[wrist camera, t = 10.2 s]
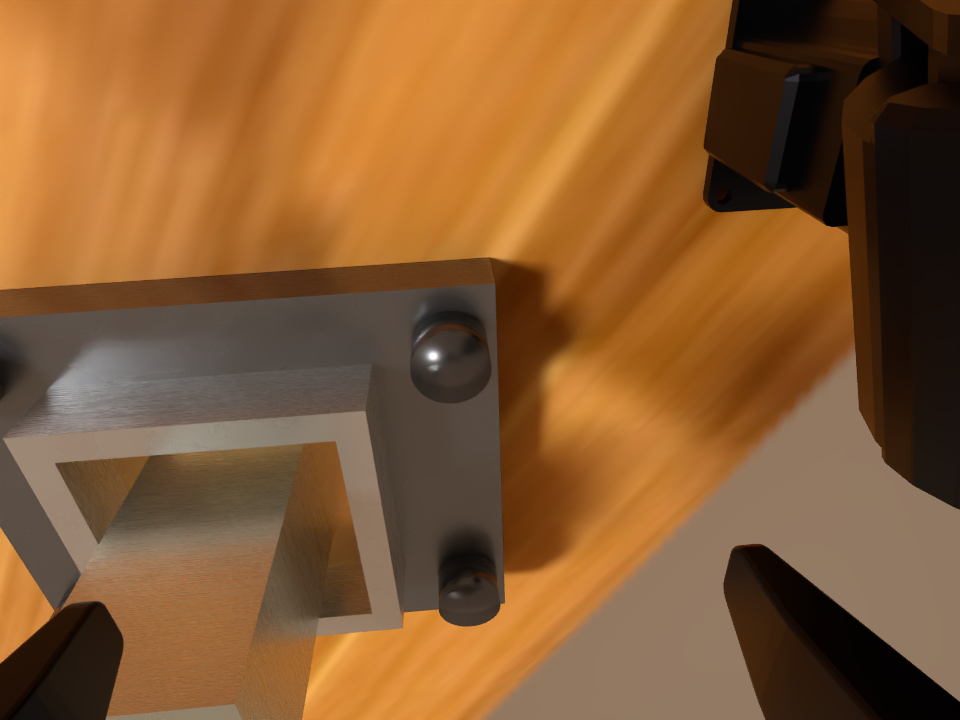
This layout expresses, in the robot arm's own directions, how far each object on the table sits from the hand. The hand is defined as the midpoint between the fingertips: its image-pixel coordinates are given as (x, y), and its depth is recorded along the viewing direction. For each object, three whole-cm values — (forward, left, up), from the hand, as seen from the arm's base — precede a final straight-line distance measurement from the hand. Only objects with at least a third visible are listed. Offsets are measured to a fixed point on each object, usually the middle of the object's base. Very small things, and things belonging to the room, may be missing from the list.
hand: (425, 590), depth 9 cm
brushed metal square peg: (+7, +8, -11) cm, 15 cm away
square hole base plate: (+7, +8, -13) cm, 17 cm away
